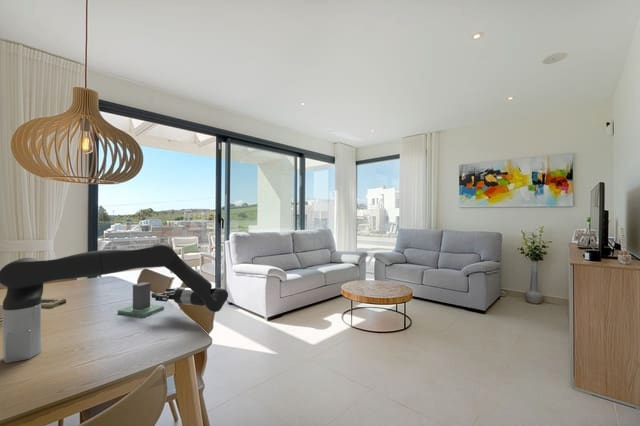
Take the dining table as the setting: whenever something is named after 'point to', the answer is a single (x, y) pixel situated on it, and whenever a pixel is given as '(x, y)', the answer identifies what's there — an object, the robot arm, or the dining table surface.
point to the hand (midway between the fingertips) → (159, 292)
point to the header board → (140, 311)
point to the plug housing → (141, 296)
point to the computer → (52, 302)
